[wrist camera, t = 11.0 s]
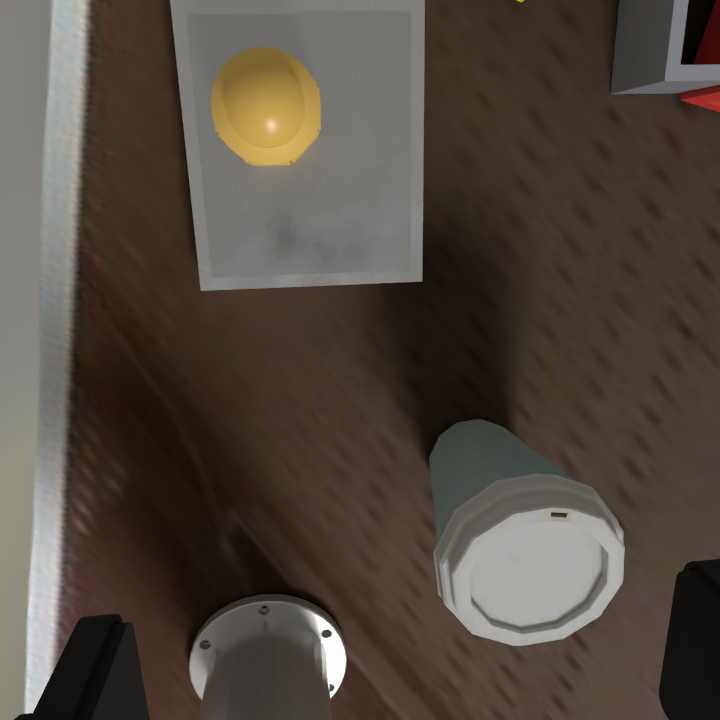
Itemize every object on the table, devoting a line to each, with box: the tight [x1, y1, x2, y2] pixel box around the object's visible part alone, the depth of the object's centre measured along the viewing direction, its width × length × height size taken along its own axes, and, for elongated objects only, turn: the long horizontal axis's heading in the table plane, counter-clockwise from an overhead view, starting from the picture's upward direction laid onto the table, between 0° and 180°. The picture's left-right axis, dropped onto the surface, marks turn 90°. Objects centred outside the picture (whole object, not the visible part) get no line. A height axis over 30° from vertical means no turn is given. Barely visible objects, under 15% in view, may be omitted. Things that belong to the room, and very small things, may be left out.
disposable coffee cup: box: [429, 419, 625, 646], centre depth 38 cm, size 11×11×15 cm
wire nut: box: [211, 47, 321, 166], centre depth 32 cm, size 5×5×6 cm
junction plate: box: [170, 0, 425, 291], centre depth 35 cm, size 16×14×6 cm
